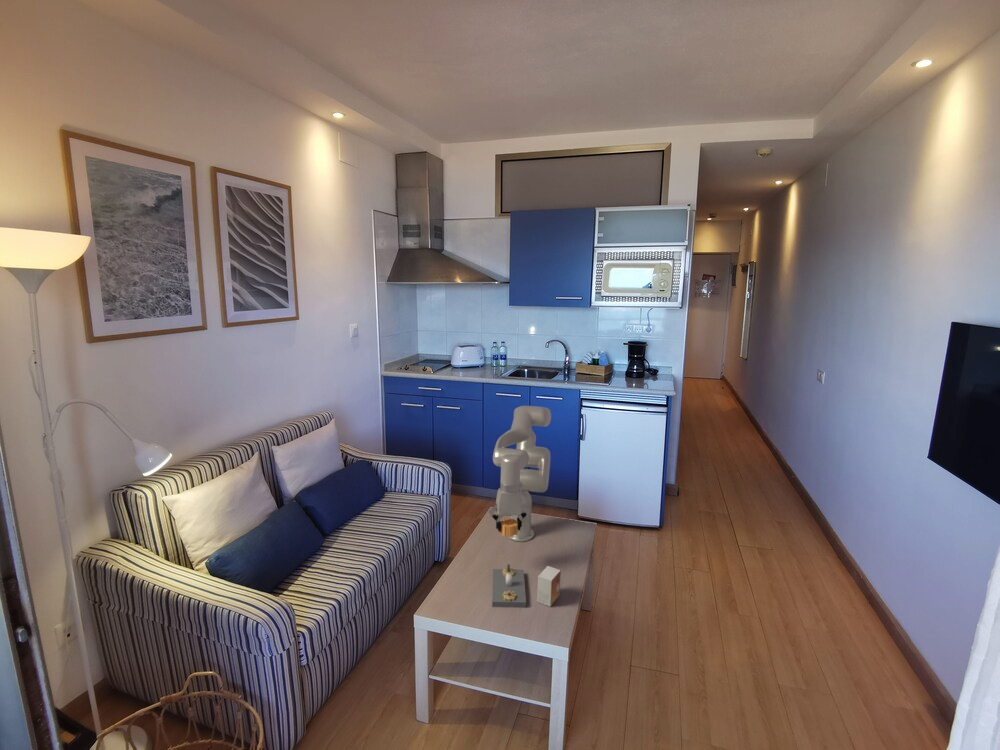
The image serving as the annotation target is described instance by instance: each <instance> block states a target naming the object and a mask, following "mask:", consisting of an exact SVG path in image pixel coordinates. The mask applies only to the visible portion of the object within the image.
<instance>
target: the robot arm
mask: <svg viewBox="0 0 1000 750" xmlns="http://www.w3.org/2000/svg"><path fill="white" fill-rule="evenodd" d="M551 420H552V412H551V410H550V408H548V407H544V406H538V405H537V406H536V405H520V406H518V407H516V408H515V409H514V411H513V419H512V423H511V427H510V429H509V430H507V431H506V432H504V433H503V434H502V435H501V436H499V438H498V439H497V440H496V443H495V445H494V449H493V452H492V453H493V454H492V462H493V464H494V465H495V466H496V467H499V468H500V483H499V484H500V487H499V488H498V489H497V493H496V499H495V505H494V506H492V508H490V509H489V510H488V514H489V515H490V516H491V518H492V519H493V520H495V529H496V530H497V531H498V532H499V533H500V531H501V520H502V519H503V517H509V519H515V520H516V521H518V532H517V535H514V536H511V537H509V536H506V537H507V538H509V539H510V540H511V541H514V542H521V543H522V542H527V541H530V540H532V539H533V538H534V536H535V532H534V530H533V529H532V504H533V503H532V502H533V501H532V496H531V494H530V493H529V492H532V493H534V492H535V493H544V492H546V491H548V487H549V482H550V481H549V479H550V468H551V452H550V450H549V449H548V448H547V447H544V446H536V441H537V436H536V434H535V432H534V430H533V429H532V427H533V426H535V427H546V428H547V427H548V426H549V425H550V424H551ZM512 445H516V447H515V448H507V447H509V446H512ZM530 468H534V469H530ZM535 468H536V469H535ZM495 512H497V513H496V514H495Z"/></svg>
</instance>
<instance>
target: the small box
mask: <svg viewBox="0 0 1000 750" xmlns="http://www.w3.org/2000/svg"><path fill="white" fill-rule="evenodd" d="M560 588H561V570H560V569H558V568H555V567H554V566H553V567H552V566H549V565H547V566H546V567H545V568H544V569H543V570H542V571H541V572H540V574H538V576H537V591H536V592H537V593H536V595H537V596H536V603H540V604H542V605H545V606H547V607H550V608H551V607H552V606H553V604H554V603H555V602H556V601H557V599H558V598H559V597H560V592H561V590H560Z"/></svg>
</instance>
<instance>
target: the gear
mask: <svg viewBox="0 0 1000 750" xmlns="http://www.w3.org/2000/svg"><path fill="white" fill-rule="evenodd" d="M500 522H501V531H500V532H499V534H501V535H502V536H503V537H507V536H509V537H511V536H514V535H517V532H518V521H516V520H515V519H510V518H509V517H506V518H504V519H501V520H500Z"/></svg>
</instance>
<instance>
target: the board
mask: <svg viewBox="0 0 1000 750" xmlns="http://www.w3.org/2000/svg"><path fill="white" fill-rule="evenodd" d="M506 567H507V568H500V569H499V568H493V569H492V599H491V600H492V601H491V602H492V603H491V604H492V605H491V606H492V608H526V607H527V598H526V595H527V594H526V585H525V583H526V582H525V573H524V569H514V568H510V564H509V563H508V564H507V565H506Z"/></svg>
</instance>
